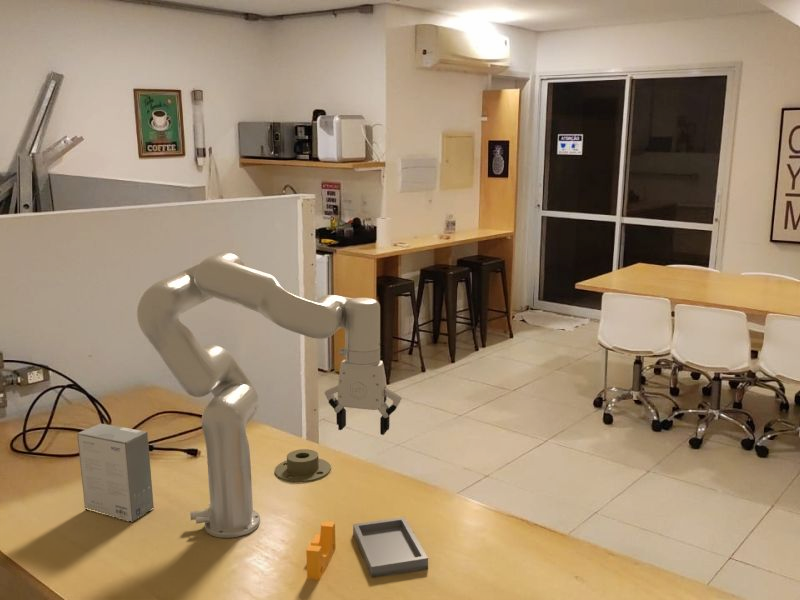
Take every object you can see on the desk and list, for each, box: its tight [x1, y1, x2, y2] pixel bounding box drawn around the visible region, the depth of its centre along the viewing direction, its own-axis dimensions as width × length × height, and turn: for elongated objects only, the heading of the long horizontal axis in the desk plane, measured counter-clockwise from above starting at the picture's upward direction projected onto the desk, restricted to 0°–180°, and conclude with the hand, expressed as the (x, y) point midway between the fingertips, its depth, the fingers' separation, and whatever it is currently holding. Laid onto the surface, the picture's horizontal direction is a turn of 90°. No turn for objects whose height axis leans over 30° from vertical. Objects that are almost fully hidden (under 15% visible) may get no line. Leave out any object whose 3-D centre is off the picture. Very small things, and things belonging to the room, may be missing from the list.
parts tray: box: [352, 516, 429, 579], centre depth 162 cm, size 12×18×2 cm, turn 15°
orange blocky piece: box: [305, 520, 337, 581], centre depth 158 cm, size 12×4×6 cm, turn 169°
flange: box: [274, 448, 332, 483], centre depth 202 cm, size 5×15×15 cm
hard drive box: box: [76, 423, 155, 523], centre depth 179 cm, size 16×8×20 cm, turn 65°
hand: (362, 430), depth 165 cm, fingers open, 9 cm apart
